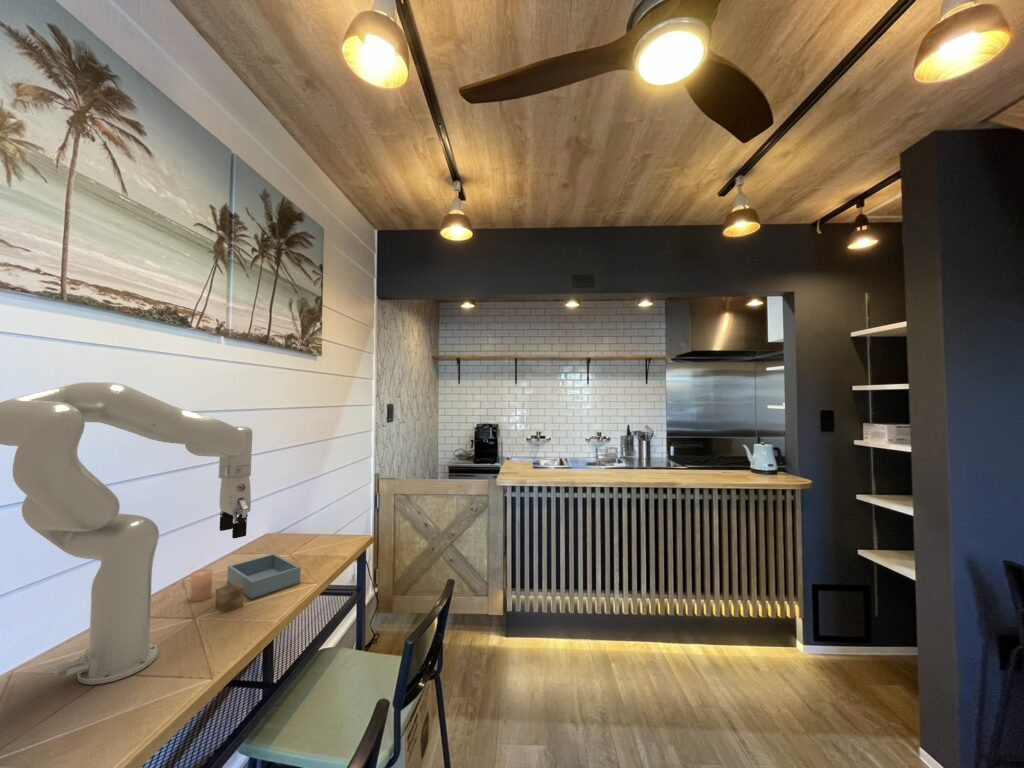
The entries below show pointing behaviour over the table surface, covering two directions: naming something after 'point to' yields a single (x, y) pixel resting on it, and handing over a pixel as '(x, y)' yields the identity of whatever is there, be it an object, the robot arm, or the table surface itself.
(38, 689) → the table surface
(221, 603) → the walnut cube
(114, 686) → the table surface
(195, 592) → the salmon orange cylinder
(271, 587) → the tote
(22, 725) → the table surface
